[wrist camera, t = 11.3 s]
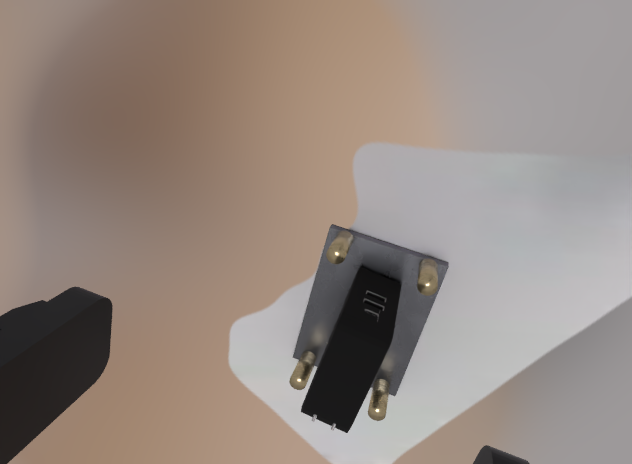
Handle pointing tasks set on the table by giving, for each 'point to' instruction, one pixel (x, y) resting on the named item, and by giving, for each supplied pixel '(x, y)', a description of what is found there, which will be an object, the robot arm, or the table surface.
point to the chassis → (332, 289)
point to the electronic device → (354, 350)
